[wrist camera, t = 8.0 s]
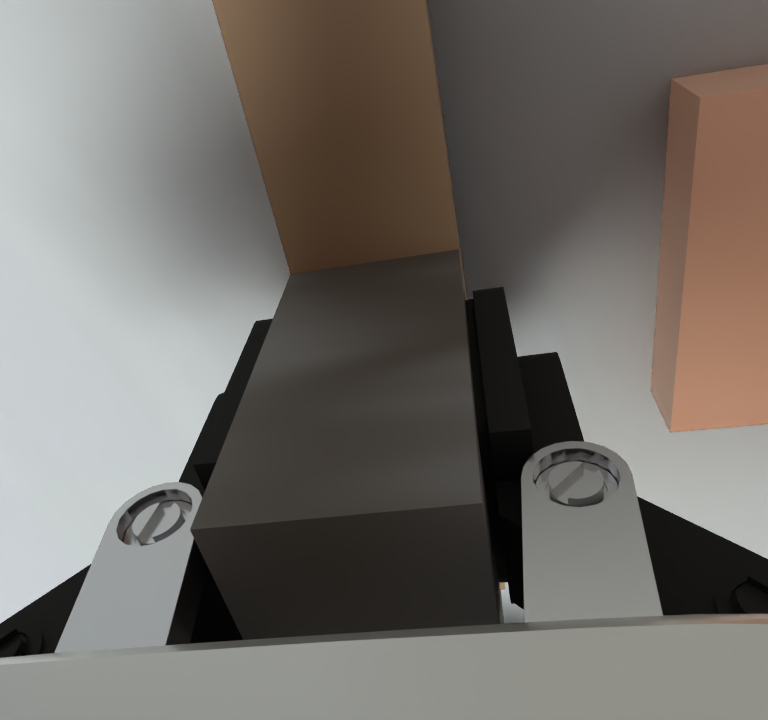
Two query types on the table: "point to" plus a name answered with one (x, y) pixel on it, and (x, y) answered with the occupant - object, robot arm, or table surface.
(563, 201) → the table surface
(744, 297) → the tile
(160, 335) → the table surface
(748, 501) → the table surface
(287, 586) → the scraper
